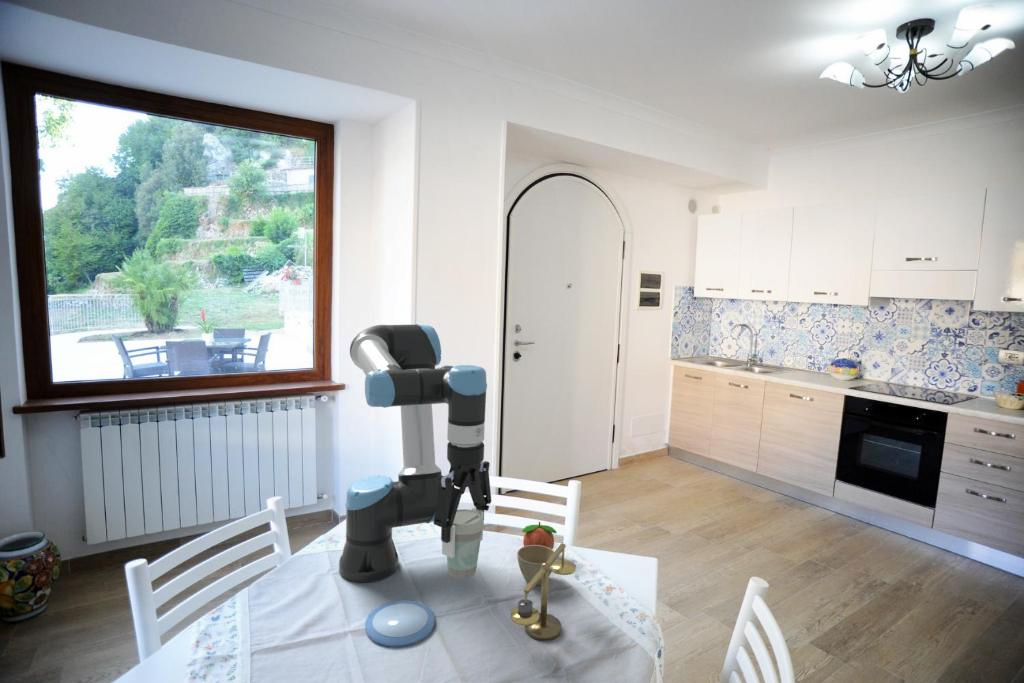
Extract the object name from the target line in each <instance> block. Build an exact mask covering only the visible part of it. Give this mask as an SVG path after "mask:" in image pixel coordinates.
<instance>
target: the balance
mask: <svg viewBox="0 0 1024 683" xmlns="http://www.w3.org/2000/svg"><path fill="white" fill-rule="evenodd" d="M566 547H567V546H566V544H565V543H564V542H562V543H560V544H559V545H558V547H557V548H556V549H555V550H554V553H553V554H552V555H551V557H550V558H549V559H548V560H547V562H545V563H543V564H542V565H541V569H540V570H539V571H538V573H537V574H536V575H535V576H534V578H533V579H532V580H531V581H530V583H528V584H527V585H526V586H525V588H524V589H523V593H524V599H520V600H519V601H518V602H517V603H518V605H517V606H515V607H513V608H512V610H511V611H510V619H511V621H512V622H514V623H515V624H516V625H519V626H524V631H525V633H526V634H527V635H528V636H529V637H530V638H532V639H534V640H537V641H540V642H547V641H548V642H549V641H553V640H556V639H557V638H559V636H560V635H561V633H562V623H561V621H560V620H559V619H558V617H556V616H555V615H552V614H549V613H548V596H549V594H548V593H549V577H550V576H549V570H551V571H552V572H551V573H554V574H557V575H560V576H568V575H569V576H570V575H572V574H574V573H575V572H576V567H577V566H576V564H575V563H574V562H573V561H571V560H569V559H565V550H566ZM560 555H561V558H559V557H560ZM541 578H542V585H541V590H540V591H541V592H540V593H541V595H540V612H539V610H537V608H535V607H533V606H534V603H533V601H532V600H530V599H528V595H529V594H530V593H531V592H532V590H533V589H534V588H535V587H536V586H537V585H536V584H537V583H538V581H539V580H540V579H541Z"/></svg>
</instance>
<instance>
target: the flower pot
mask: <svg viewBox="0 0 1024 683" xmlns="http://www.w3.org/2000/svg"><path fill="white" fill-rule="evenodd" d="M554 552H555V550H554V549H553V550H552V549H550V548H548V547H545V546H540V545H529V546H525V547H524V546H522V547H521V548H519V549H518V550H517V553H516V554H517V555H516V556H517V562H518V567H519V570H520V572H521V575H522V576H523V578H524V580H525V582H526V583H528V584H529V583H530V581H531V580H532V579H533V578H534V576H535V575H536V574H537V573H538V571H539V570H540V569H541V565H542V564H543V563H545V562H547V560H548V559H549V558H550V557H551V555H552V554H553V553H554ZM552 573H553V572H552V571H551V570H549V577H550V575H551V574H552ZM535 586H542V578H541V579H540V580H539V581H538V583H537V584H536V585H535Z"/></svg>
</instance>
